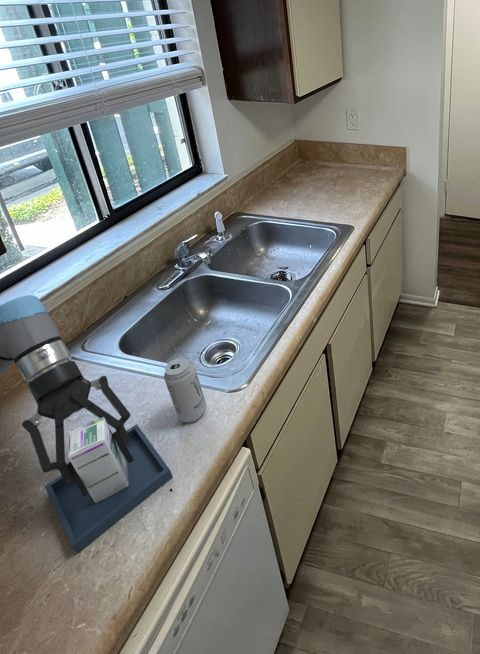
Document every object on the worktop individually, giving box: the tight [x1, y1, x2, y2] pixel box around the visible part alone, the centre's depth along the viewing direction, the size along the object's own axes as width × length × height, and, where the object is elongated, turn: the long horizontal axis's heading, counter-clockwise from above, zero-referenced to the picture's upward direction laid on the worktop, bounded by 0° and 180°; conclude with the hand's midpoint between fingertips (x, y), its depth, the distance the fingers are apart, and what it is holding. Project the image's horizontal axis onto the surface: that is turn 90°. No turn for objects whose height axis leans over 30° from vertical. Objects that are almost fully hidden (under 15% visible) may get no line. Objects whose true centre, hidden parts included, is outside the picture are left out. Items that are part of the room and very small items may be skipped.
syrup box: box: [67, 417, 128, 503], centre depth 82 cm, size 6×6×14 cm
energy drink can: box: [163, 356, 207, 424], centre depth 97 cm, size 6×6×15 cm
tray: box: [44, 424, 173, 555], centre depth 85 cm, size 16×17×3 cm
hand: (109, 477), depth 81 cm, fingers closed on syrup box, 7 cm apart
